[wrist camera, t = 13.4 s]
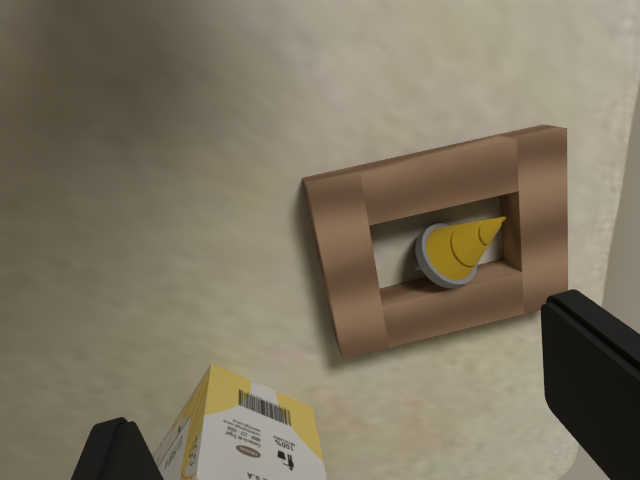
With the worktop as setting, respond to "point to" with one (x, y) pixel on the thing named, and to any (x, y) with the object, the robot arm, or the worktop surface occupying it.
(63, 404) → the worktop surface
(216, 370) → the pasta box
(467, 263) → the yellow stepped cone
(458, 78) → the worktop surface
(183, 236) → the worktop surface
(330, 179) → the walnut socket block
